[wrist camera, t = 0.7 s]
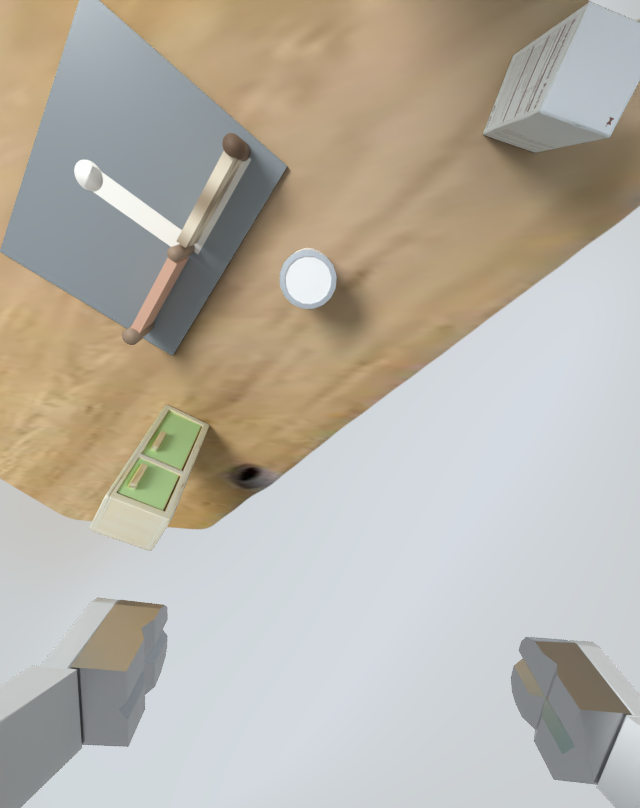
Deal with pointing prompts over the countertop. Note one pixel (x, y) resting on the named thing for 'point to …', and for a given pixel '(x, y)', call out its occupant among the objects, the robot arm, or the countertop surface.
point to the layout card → (130, 179)
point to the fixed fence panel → (214, 188)
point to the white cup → (308, 278)
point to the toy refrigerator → (152, 481)
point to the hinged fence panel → (158, 293)
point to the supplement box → (569, 82)
